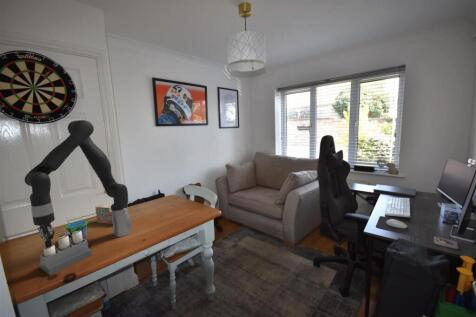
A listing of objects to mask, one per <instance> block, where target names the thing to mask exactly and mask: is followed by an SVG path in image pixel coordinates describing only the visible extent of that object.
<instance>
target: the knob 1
mask: <svg viewBox="0 0 476 317" xmlns="http://www.w3.org/2000/svg"><path fill="white" fill-rule="evenodd" d="M42 249H43V254H44V256H45V258H47V257H49V256H51V255H54V254H56V251H55V249H56V246H55V244H52V246H51V247H49V248H46V247H45V246H44V247H43V248H42Z"/></svg>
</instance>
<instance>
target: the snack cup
mask: <svg viewBox="0 0 476 317" xmlns="http://www.w3.org/2000/svg"><path fill="white" fill-rule="evenodd" d="M87 226H88V221H87V220H78V221H73V222H71V223H69V224H67V225H65V229H66V232H70V233H73V232H75V231H82V237H83V239H85V240H86V238H87V234H88V233H87V232H88V230H87V229H88V227H87ZM71 242H73V238H72V236H71Z"/></svg>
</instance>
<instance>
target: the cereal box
mask: <svg viewBox="0 0 476 317" xmlns="http://www.w3.org/2000/svg"><path fill="white" fill-rule="evenodd" d="M111 205H112V203H111V204H109V203H108V204H107V203H102V204H99V205H97V206H95V214H96V221H97V223H99V224H109V225H110V224H111V225H113V221H112V213H111Z"/></svg>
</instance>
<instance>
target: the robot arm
mask: <svg viewBox="0 0 476 317" xmlns="http://www.w3.org/2000/svg"><path fill="white" fill-rule="evenodd" d="M94 128H95V127H94V125H93V124H92V123H91V121H88V120H86V119H79V120H78V119H77V120H72V121H71V122H69V123H68V125H67V130H68V131H67V132H68V133H69V135H68V136H67V138H65V140H63V141H62V142H60V143H59V144H58V145H57V146H55V147H54V148H53V149H52V150H50V151H49V152H48V153H47V155H46V156H45V157H44V158H43V159H42V161H41V162H40V163H38V164H36V165H35V166H34V167H33V168H31V169H30V171H28V172H27V174H26V175H25V176H24V180H23V181H24V183H25V185H27V186H29V187H31V194H30V195H29V199H30V207H31V215H32V216H31V217H32V221H33V225H34V226H38V227H37V230H38V232H39V235H40V237H41V239H42V240H43V241H44V242H43V243H44V248H45V247H46V248H49V247H51V246H52V245H53V242H52V240H53V239H54V237H55V232H56V231H55V230H53V225H52V224H51V223H53V222H55V220H56V217H55V212H54V206H53V204H52V198H51V186H52V185H51V184H52V183H51V182H52V181H51V178H50V176H49V175H50V174H51V173H53V172H55V171H57V170H59V168H60V167H61V166H62V165H63V163H64V162H65V161H66V160H67V159H68V157H69V156H70V155H72V153H73V152H74V151H75V150H76V149H77V148H78V147H79V148H80V149H81V151H82V153H83V155H84V157H85V158H86V160H87V161H88V164H89V165H90V167H91V168H92V170H93V171H94V173H95V175H96V176H97V178H98V179H99V180H100V183H101V184H102V187H103V189H104V191H105V193H106V195H107V196H108V197H110V198H112V199H113V203H111V213H112V221H113V224H112V226H113V227H112V228H113V235H114V237H117V238H121V237H124V236H127V235H129V234H130V233H132V231H133V229H132V222H131V217H129V216H130V215H129V207H128V204H129V191H128V187H127V186H126V185H125V184H123V183H118V181H117V180H115V178H114V176H113V174H112V165H111V162H110V160H109V159H108V157H107V155H106V153H105V152H104V151H103V150H102V149H101V148H100V147H99V146H98V145H97V144H95V143H94V141H93V140H92V139H91V136H92V134H93V133H94V130H95V129H94Z"/></svg>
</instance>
